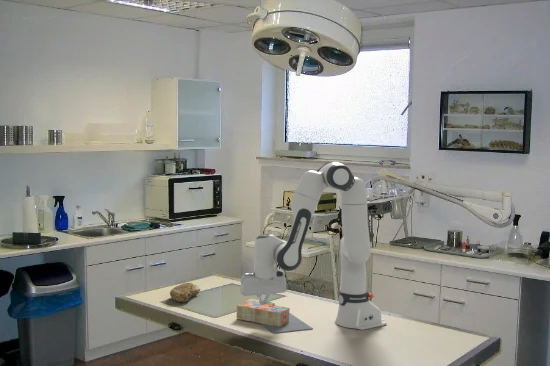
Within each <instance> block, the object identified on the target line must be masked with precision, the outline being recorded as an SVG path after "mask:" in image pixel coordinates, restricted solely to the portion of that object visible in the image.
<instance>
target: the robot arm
mask: <svg viewBox="0 0 550 366" xmlns="http://www.w3.org/2000/svg"><path fill="white" fill-rule="evenodd" d="M328 188H331V189H336V190H339V192H340V195H341V197H340V198H341V202H340V203H341V204H340V205H341V225H342V234H343V236H342V237H341V239H340V243H339V244H340V245H339V247H340V248H339V250H340V251H339V254H340V256H339V257H340V288H339V291H338V309H337V314H336V317H335V320H334V322H335V324H336V325H338V326H341V327H344V328H350V329H358V330H361V331H362V330H363V331H364V330H368V329H373V328H378V327H382V326H386V325H387V321H386V319H384V318H383V317H382V312H381V309H380V308H379V307H378V306H377V305H375V304H374V302H373V301H371V300H370V299H374V294H373V293H371V292H368V291H366V290H367V265H366V262H367V261H368V260H369V258H370V257H371V252H372V250H371V241H370V229H369V222H368V221H369V220H368V196H367V195H368V192H367V188H366V184H365V181H364V179H362V178H359V177H357V176H354V174H353V172H352V171H351V169H350V168H349V167H348V166H347V165H346V164H344V163H341V162H338V161H331V162H326V163H325V164H323V165H321V167H320V168H319V169H317V170H307V171H305V172H304V173H303V174H302V176H301V178H300V179H299V182H298V183H297V186H296V187H295V190H294V192H293V194H292V198H291V204H290V209H291V213H292V217H293V218H292V219H293V220H292V221H293V222H292V226H291V230H290V232H289V236H288V238H287V241H286V240H282V239H280V238H279V237H277V236H275V235H274V234H273V233H263V234H262V233H261V234H260V235H258V236H257V237H256V238H255V241H254V246H253V247H254V248H253V256H254V263H253V272H248V273H247V272H246V273H244V274H242V275H241V276H240V288H239V293H240V294H241V296H243V297H248V296H256V297H257V300H259V304H260V305H262V304H267V301H268V300H269V298H270V296H271V295H272V294H273V295H274V294H283V293H284V294H285V293H286V291H287V278H286V277H285V276H286V271H287V272H292V271H294V270H297V268H299V266H300V265H301V263H302V261H303V260H302V258H303V257H302V248H303V244H304V241H305V239H306V235H307V231H308V229H309V226H310V223H311V222H312V219H313V215H314V213H315V211H316V209H317V207H318V204H319V202H320V200H321V199H320V198H321V196H322V194H323V192H324V191H325V190H326V189H328ZM276 264H278V266H279V268H277V267H275V265H276ZM263 295H264V296H265V297H264V299H262V297H263Z"/></svg>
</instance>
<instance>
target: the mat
mask: <svg viewBox="0 0 550 366" xmlns="http://www.w3.org/2000/svg"><path fill="white" fill-rule="evenodd" d="M261 325H262V326H263V327H264V326H265V327H264V328H266V329H267V330H268V331H270V332H271V333H272V334H273V333H274V334H282V333H283V334H284V333H292V332H300V331H301V332H302V331H309V330H314V329H313V327H311V326H310V325H309V324H307V323H305V322H304V321H303V320H301V319H300V318H299V317H297V316H295V315H294V314H292V312H291V313H290V312H289V322H287V323H285V324H284V325H282V326H280V327H278V326H272V325H267V324H261Z"/></svg>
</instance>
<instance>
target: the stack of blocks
mask: <svg viewBox="0 0 550 366" xmlns="http://www.w3.org/2000/svg"><path fill="white" fill-rule="evenodd" d="M290 309H291V307H286V306H282V305H276V304H275V302H271V301H268V300H267V304H262V305H260V304H259V299H256V298H249V299H247V300H244V301H243V302H241V303H238V304H237V305H236V320H241V321H243V320H244V321H246V322H253V323H258V324H261V325H262V324H267V325H272V326H278V327H280V326H282V325H284V324H285V323H287V322H289V313H290Z"/></svg>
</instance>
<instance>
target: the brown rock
mask: <svg viewBox="0 0 550 366" xmlns="http://www.w3.org/2000/svg"><path fill="white" fill-rule="evenodd" d="M200 291H201V288H200V286H198V285H197V284H194V283H192V282H184V283H181V284H179V285H177V286H175V287H173V288H172V289H171V290H170V292H169V295H170V297H171V298H172V300H173V301H176V302H178V303H184V302H187V301H189V300H190V299H191V298H192V297H193V296H197V295H198V294H199V293H200Z"/></svg>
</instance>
